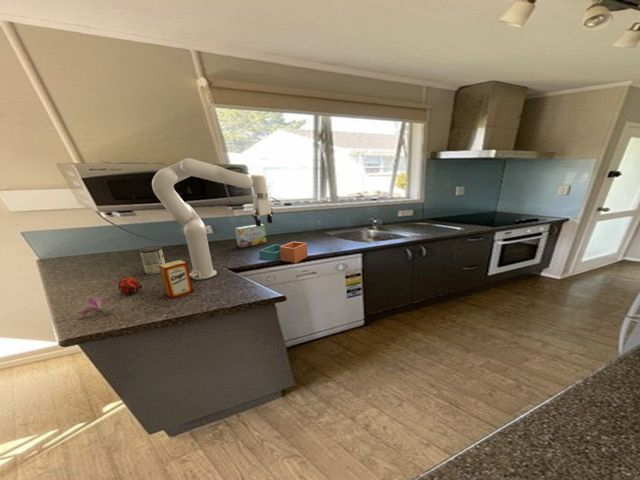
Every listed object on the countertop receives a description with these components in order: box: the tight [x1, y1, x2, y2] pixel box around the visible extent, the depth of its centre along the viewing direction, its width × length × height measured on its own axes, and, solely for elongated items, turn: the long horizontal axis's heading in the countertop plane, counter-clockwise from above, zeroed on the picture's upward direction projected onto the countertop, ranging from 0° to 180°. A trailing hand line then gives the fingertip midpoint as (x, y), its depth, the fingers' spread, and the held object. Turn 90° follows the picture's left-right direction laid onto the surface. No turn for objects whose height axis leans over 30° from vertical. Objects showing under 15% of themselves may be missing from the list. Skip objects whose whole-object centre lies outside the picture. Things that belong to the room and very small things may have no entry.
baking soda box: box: [159, 259, 194, 299], centre depth 140 cm, size 10×6×16 cm
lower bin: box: [258, 243, 284, 261], centre depth 198 cm, size 16×13×6 cm
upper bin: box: [280, 241, 309, 264], centre depth 192 cm, size 14×11×10 cm
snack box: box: [234, 223, 267, 249], centre depth 222 cm, size 21×6×15 cm, turn 143°
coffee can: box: [138, 245, 166, 275], centre depth 168 cm, size 10×10×14 cm
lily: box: [78, 292, 110, 320], centre depth 121 cm, size 12×12×10 cm
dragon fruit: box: [117, 276, 143, 296], centre depth 142 cm, size 8×8×12 cm
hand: (264, 224), depth 174 cm, fingers open, 9 cm apart
